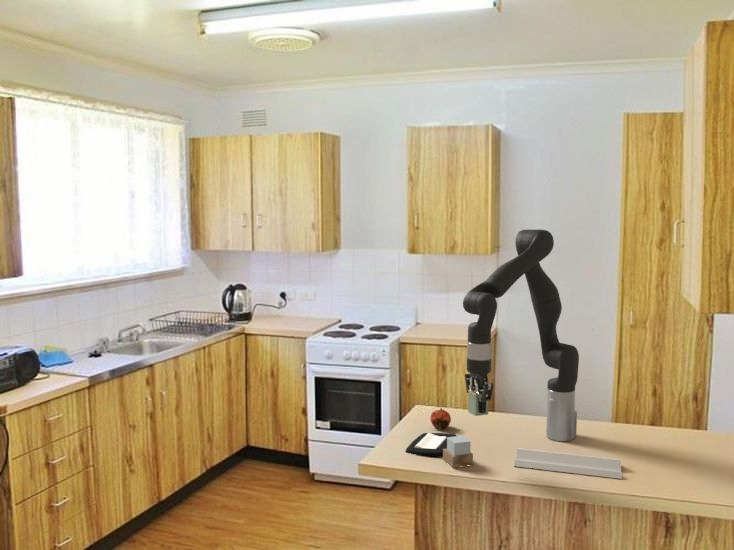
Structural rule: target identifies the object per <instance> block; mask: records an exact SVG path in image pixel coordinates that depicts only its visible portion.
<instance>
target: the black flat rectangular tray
mask: <svg viewBox="0 0 734 550" xmlns="http://www.w3.org/2000/svg"><path fill="white" fill-rule="evenodd" d="M455 436H457V434H454V433H446V432H445V433H443V432H424V433H421V434H420V435H419V436H417V437H416V438H415V439H414V440H412V441H411V443H410V444H409V445H408V446H407V447H406V450H405V453H407V454H410V453H411V455H414V454H416V456H427V457H428V456H430V457H431V456H432V457H433V456H436V457H437V456H443V449H446V448H447V437H455Z"/></svg>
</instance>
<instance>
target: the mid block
mask: <svg viewBox="0 0 734 550" xmlns="http://www.w3.org/2000/svg"><path fill="white" fill-rule="evenodd" d="M447 450H448V451H449V452H450V453H452V454H453V455H454V456H456V455H464V454H470V452H471V440H469V439H468V438H467V437H466V436H464V435H456V436H455V437H447Z"/></svg>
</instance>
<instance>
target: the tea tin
mask: <svg viewBox="0 0 734 550" xmlns="http://www.w3.org/2000/svg"><path fill="white" fill-rule="evenodd" d="M480 391H483V390H480ZM468 392H469V393H468V394H467V395H468V401H467V402H468V403H467V404H468V405H467V409H468V411H467V412H468V413H470V414H471V415H473V416H475V417H478V416H484V415H485V416H487V415H489V402H490V401H487V402H486V413H479V394H478V393H476V389H473V390H470V389H468ZM481 395H483V393H482V394H481ZM487 397H488V395H487Z"/></svg>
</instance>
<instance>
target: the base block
mask: <svg viewBox="0 0 734 550" xmlns="http://www.w3.org/2000/svg"><path fill="white" fill-rule="evenodd" d="M443 460H444V461H445V464H447V463H448V464H449V465H450V466H451V467H452V468H451V467H450V466H449V465H448V464H447V465H448V466H449V467H450V468H451V469H456V468H455V467H460V466H466V467H468V466H467V465H473V466H474V454H473V452H471V451H470V454H464V455H456V456H454V455H453V454H452V453H450V452H449V451H448V450H447V448H446V449H443V455H442V461H443ZM444 461H443V462H444ZM460 468H461V467H460Z"/></svg>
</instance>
